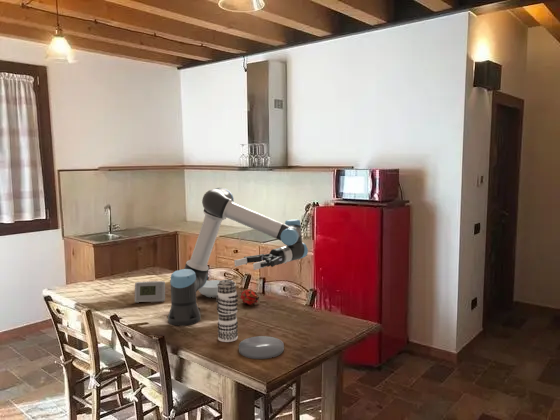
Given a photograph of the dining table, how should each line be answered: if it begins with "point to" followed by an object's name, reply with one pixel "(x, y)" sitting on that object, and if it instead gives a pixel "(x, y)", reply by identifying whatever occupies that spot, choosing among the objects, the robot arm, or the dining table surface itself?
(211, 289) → the cereal bowl
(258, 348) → the slate plate
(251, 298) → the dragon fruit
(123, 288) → the dining table surface
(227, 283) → the decorative candle
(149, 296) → the digital clock
